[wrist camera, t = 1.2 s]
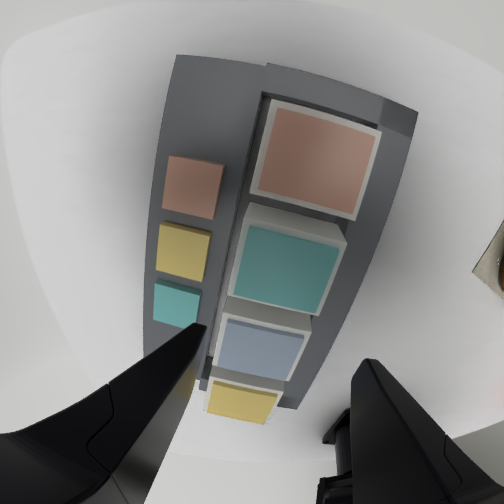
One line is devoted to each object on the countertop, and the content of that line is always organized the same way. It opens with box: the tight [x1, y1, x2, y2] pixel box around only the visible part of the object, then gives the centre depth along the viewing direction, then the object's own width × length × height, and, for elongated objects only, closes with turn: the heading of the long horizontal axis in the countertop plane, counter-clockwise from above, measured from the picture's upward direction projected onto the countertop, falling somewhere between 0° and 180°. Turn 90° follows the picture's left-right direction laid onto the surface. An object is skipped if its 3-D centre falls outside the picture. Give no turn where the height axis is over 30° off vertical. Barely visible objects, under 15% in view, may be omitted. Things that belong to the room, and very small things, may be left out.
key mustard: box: [203, 365, 284, 424], centre depth 18 cm, size 4×4×4 cm
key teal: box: [227, 202, 347, 316], centre depth 14 cm, size 4×4×4 cm
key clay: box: [249, 99, 382, 221], centre depth 12 cm, size 4×4×4 cm
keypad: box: [143, 55, 418, 409], centre depth 18 cm, size 22×13×2 cm, turn 167°
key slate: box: [212, 295, 312, 381], centre depth 16 cm, size 4×4×4 cm
